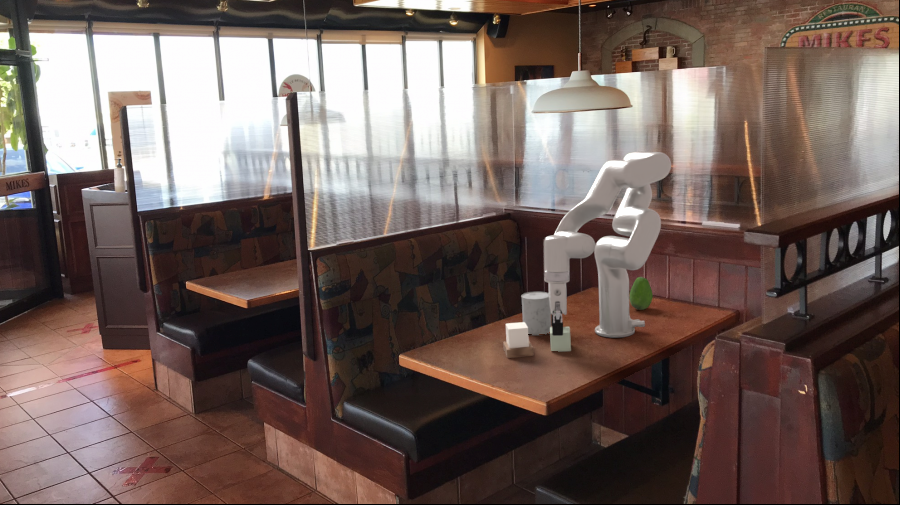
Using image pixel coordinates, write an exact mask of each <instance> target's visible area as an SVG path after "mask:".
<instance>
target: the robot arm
mask: <svg viewBox="0 0 900 505" xmlns="http://www.w3.org/2000/svg"><path fill="white" fill-rule="evenodd" d="M671 170H672V162H671V158H670V157H669V155H667V154H666V153H665V152H661V151H632V152H629V153H626V154H625V155H624V157H623V159H611V160H607V161H605V163H603V165H602V166H601V168H600V170H599V171H598V174H597V176H596V177H595V180H594V181H593V182H592V184H591V186H590V189H589V191H588V192H587V194H586V196H585V198H584V199H583V200H581V202H578V204H576V205H575V206H574V207H572V208H571V209H570V210H569V211H567V213H566V214H565V215H564V216H563V218H562V219H561V220H560V222H559V224H558V226H557V228H556V229H555V231H554V234H553V235H548V236H546V237H544V242H543V246H544V248H543V253H544V255H543V258H544V260H543V262H544V263H543V265H544V266H543V267H544V268H543V269H544V271H543V272H544V273H543V275H544V278H543V279H544V282H545V283H548V293H549V306H550V312H551V327H552V335H553V336H562V335H563V327H564V322H563V315H564V316H566V315H567V314H568V313H567V312H568V308H567V305H568V304H567V303H568V301H567V299H568V298H567V283H569V282H570V259H586V258H588V257H589V256H591V255H592V254H593V253H594V259H595V263H596V268H597V274H598V275H597V276H598V277H597V278H598V279H597V280H598V307H599V309H598V313H599V325H597V326H595V328H594V332H595V334H596V335H597V336H601V337H605V338H612V339H615V338H625V337H630V336H632V335H634V334H635V330H636V329H635V327H636V328H637V327H639V328H642V327H643V328H644V327H646V323H645V320H640V319H632V318H631V316H630V299H629V296H630V278H629V274H628V271H637V270H639V269H641V268H642V267H643V266H644V265H645V264H646V262H647V260H648V258H649V256H650V254H651V253H652V252H651V251H652V249H653V248H654V245H655V243H656V241H657V239H658V237H659V234H660V232H661V228H662V220H661V216H660V214H659V213H658V212H657V211H656V210H654V209H652V208H649V207H650V204H651V202H652V198H653V191H652V190H653V189H652V186H651V184H654V183H655V182H658V181H661V180H664V178H666V177H667V176H668V175H669V173H670V171H671ZM623 188H624V189H625V193H624V195H623V198H622V199H621V202H620V203H619V206H618V208H617V210H616V212H615V215H614V216H613V219H612V223H611V224H612V225H611V227H612V229H613V231H614V232H615V233H616V234H618V235H621V236H622V237H621V236H615V235H606V236H603V237H601V238H599V239H598V240H597V242H595V239H594V238H593V237H592V236H591V235H589V234H586V233H582V232H578V231H579V229H581V228H582V227H583V226H584V225H585V224H587V223H588V222H590V221H592V220H594V219H597V218H600V217H602V216H605V215H606V214H608V213H610V211H611V210H612V208H613V206H614V203H615V202H616V200H617V198H618V196H619V194H620V192H622V191H621V190H622V189H623ZM623 236H626V237H623ZM628 237H629V238H628Z"/></svg>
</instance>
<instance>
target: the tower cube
mask: <svg viewBox="0 0 900 505" xmlns="http://www.w3.org/2000/svg"><path fill="white" fill-rule="evenodd" d="M505 336H506V339H505V341H506V342H507V344H508V346H509V348H520V347H529V341H530V338H529V336H530V335H528V327H527V325H526V323H525V322H523V321H522V322H510V323H509V322H508V323H505Z"/></svg>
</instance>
